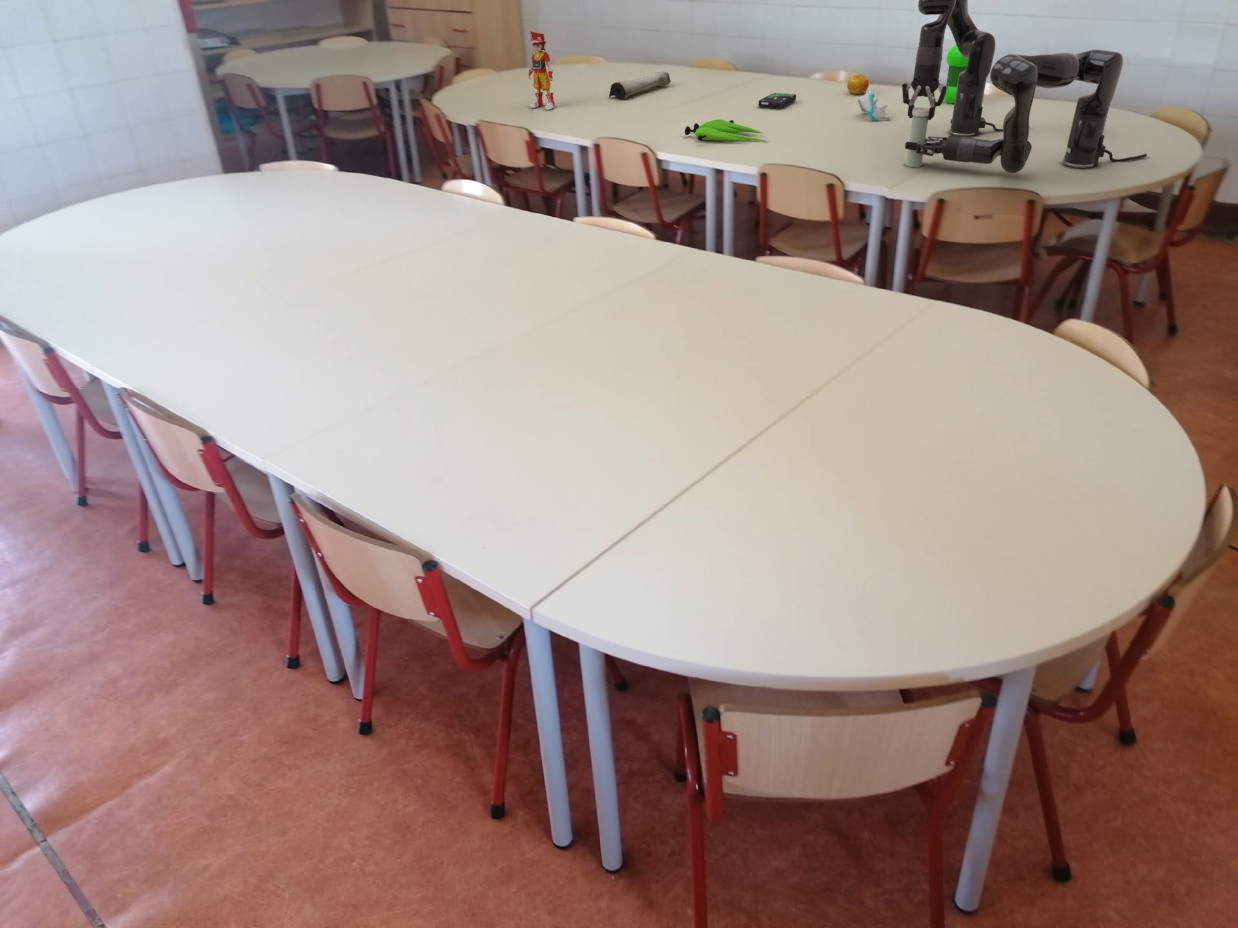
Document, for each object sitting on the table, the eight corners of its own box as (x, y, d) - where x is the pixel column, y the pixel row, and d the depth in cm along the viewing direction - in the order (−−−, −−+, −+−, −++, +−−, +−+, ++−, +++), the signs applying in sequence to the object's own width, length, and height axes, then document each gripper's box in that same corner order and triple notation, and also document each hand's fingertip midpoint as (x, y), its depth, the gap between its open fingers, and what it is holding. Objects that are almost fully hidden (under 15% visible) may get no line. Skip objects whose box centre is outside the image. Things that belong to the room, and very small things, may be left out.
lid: (926, 117, 280) (927, 112, 279) (909, 115, 283) (909, 110, 282) (932, 113, 284) (933, 108, 283) (915, 111, 286) (916, 106, 285)
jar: (904, 166, 292) (911, 112, 282) (909, 162, 295) (916, 108, 285) (918, 168, 289) (926, 113, 280) (923, 164, 293) (931, 110, 283)
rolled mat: (651, 76, 408) (662, 61, 399) (662, 93, 408) (674, 79, 400) (605, 92, 391) (616, 77, 383) (617, 110, 391) (628, 95, 383)
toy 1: (525, 109, 381) (517, 32, 364) (534, 104, 388) (527, 28, 371) (550, 110, 377) (543, 32, 360) (559, 105, 384) (553, 28, 367)
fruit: (842, 86, 371) (854, 68, 368) (844, 90, 378) (856, 72, 375) (859, 97, 369) (871, 79, 366) (861, 100, 377) (873, 83, 374)
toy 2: (674, 139, 326) (748, 154, 314) (675, 124, 324) (750, 138, 311) (708, 126, 347) (780, 140, 334) (710, 113, 344) (782, 125, 331)
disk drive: (781, 110, 359) (796, 101, 369) (782, 102, 357) (796, 94, 367) (757, 108, 364) (772, 99, 374) (758, 100, 362) (773, 92, 372)
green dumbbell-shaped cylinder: (973, 101, 354) (984, 32, 339) (955, 106, 349) (966, 36, 335) (952, 97, 361) (962, 29, 346) (934, 102, 356) (944, 33, 342)
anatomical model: (852, 90, 344) (878, 82, 343) (855, 117, 350) (880, 110, 349) (864, 99, 332) (891, 92, 331) (867, 127, 338) (893, 120, 337)
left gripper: (901, 62, 275) (894, 119, 284) (949, 65, 268) (940, 123, 278) (908, 57, 280) (901, 114, 290) (955, 60, 274) (946, 118, 283)
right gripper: (970, 131, 284) (917, 125, 292) (956, 142, 274) (902, 136, 283) (966, 155, 288) (914, 149, 296) (952, 167, 279) (899, 161, 287)
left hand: (920, 118), depth 284 cm, fingers closed on lid, 5 cm apart
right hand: (908, 143), depth 290 cm, fingers closed on jar, 4 cm apart
